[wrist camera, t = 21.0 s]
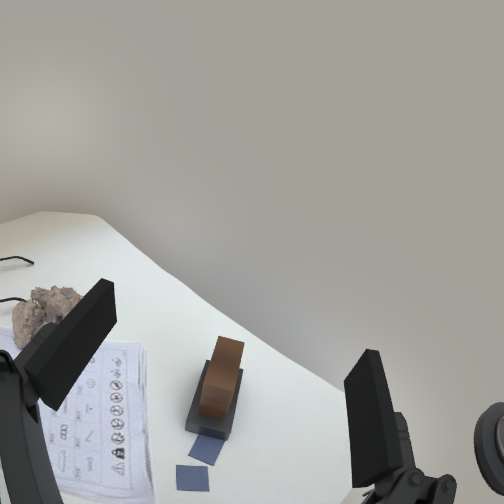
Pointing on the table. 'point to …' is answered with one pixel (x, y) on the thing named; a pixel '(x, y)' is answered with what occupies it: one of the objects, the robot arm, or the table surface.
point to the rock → (41, 311)
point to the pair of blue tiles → (198, 475)
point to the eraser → (217, 391)
